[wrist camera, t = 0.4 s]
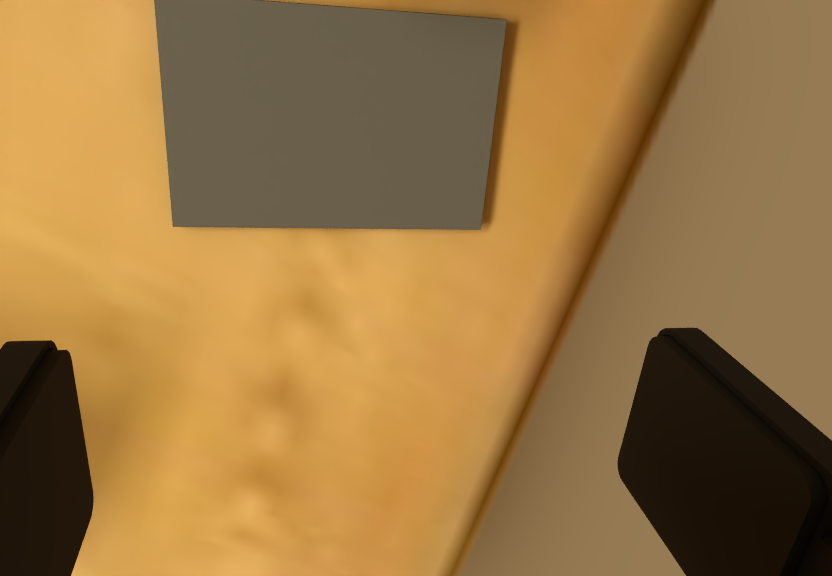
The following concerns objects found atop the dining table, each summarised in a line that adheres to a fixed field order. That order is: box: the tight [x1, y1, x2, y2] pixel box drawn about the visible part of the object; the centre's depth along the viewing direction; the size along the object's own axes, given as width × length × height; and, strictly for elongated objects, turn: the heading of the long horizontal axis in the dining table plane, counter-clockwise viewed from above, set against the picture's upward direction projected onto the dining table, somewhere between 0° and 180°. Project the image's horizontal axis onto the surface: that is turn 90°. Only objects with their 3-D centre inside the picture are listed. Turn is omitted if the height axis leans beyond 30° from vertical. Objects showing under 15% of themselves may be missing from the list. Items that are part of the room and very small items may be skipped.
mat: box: [154, 0, 507, 230], centre depth 36 cm, size 12×18×1 cm, turn 85°
